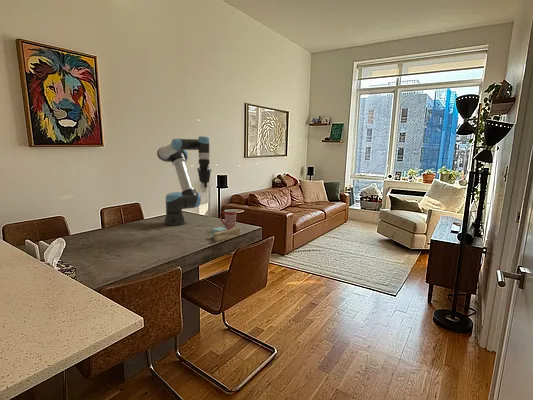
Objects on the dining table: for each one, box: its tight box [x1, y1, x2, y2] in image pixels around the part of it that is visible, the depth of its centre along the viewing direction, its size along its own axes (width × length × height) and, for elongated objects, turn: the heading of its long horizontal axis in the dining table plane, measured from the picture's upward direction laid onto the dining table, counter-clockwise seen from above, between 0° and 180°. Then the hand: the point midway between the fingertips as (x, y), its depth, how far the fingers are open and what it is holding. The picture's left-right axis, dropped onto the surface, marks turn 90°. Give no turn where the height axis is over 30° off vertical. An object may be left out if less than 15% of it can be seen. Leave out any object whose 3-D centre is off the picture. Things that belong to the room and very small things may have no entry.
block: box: [211, 226, 227, 239], centre depth 208 cm, size 7×7×6 cm
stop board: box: [213, 226, 241, 243], centre depth 207 cm, size 5×20×5 cm, turn 141°
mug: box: [219, 209, 238, 230], centre depth 230 cm, size 13×9×14 cm
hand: (204, 191), depth 227 cm, fingers closed
